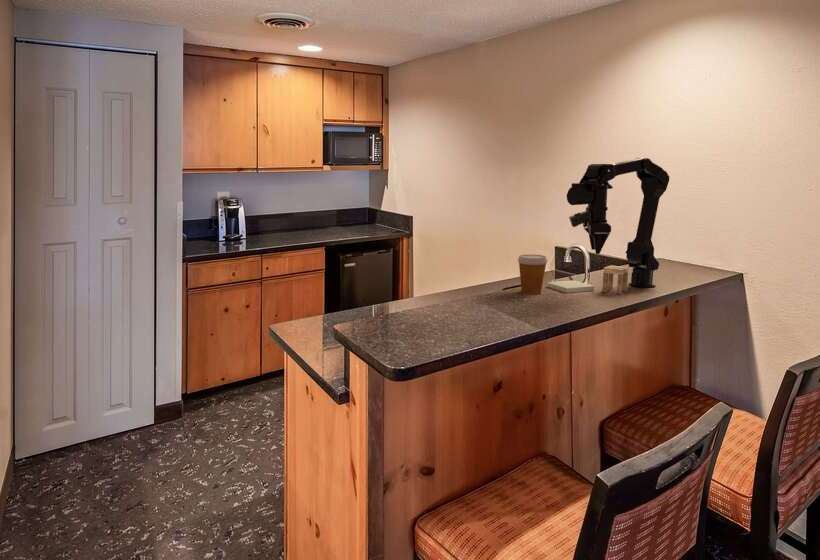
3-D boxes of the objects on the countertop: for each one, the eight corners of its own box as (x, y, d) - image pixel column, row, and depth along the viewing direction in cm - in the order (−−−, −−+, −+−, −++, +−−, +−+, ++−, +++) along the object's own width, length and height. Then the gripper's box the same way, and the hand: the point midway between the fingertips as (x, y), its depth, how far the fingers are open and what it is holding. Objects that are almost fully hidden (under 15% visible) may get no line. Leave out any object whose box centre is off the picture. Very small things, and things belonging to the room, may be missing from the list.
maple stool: (608, 288, 192) (610, 265, 191) (626, 291, 188) (628, 267, 187) (602, 291, 188) (603, 267, 186) (620, 293, 184) (622, 269, 182)
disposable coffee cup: (544, 289, 190) (545, 254, 188) (548, 295, 181) (549, 258, 179) (515, 289, 191) (516, 254, 189) (517, 295, 182) (519, 258, 180)
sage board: (573, 284, 199) (573, 280, 199) (594, 290, 189) (594, 286, 189) (547, 286, 196) (547, 282, 195) (566, 292, 185) (566, 288, 185)
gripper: (568, 202, 192) (566, 247, 196) (574, 206, 174) (573, 256, 177) (602, 201, 191) (600, 247, 194) (612, 205, 173) (610, 256, 176)
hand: (595, 251), depth 185 cm, fingers open, 9 cm apart
